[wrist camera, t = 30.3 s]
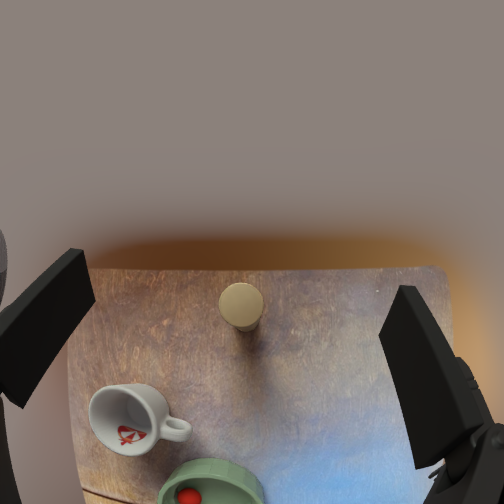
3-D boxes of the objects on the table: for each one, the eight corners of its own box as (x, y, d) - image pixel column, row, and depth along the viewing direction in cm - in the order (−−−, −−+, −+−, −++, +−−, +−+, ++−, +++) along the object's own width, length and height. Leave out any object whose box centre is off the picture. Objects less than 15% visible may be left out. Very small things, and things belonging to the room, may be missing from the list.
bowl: (152, 468, 27) (138, 485, 22) (237, 443, 29) (234, 460, 23) (197, 530, 24) (190, 551, 19) (278, 508, 25) (282, 530, 20)
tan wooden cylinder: (229, 313, 33) (211, 294, 19) (252, 302, 34) (252, 275, 19) (239, 335, 33) (230, 334, 18) (263, 325, 33) (271, 315, 19)
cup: (204, 392, 31) (191, 408, 23) (194, 449, 28) (180, 475, 21) (122, 369, 31) (91, 375, 24) (115, 423, 29) (85, 440, 21)
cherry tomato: (202, 498, 23) (188, 481, 25) (183, 510, 22) (169, 493, 24) (209, 502, 25) (195, 486, 27) (191, 513, 23) (177, 497, 25)
